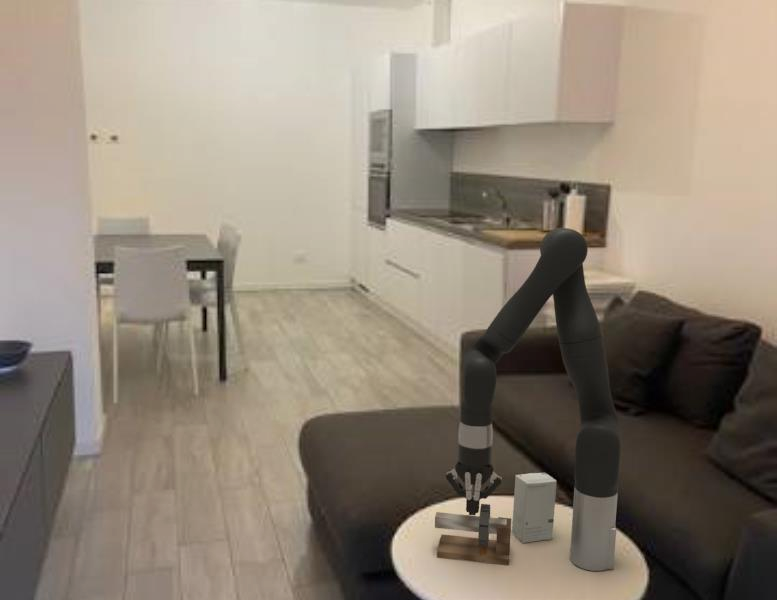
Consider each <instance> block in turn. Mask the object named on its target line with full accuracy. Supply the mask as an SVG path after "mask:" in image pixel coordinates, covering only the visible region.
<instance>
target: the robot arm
mask: <svg viewBox="0 0 777 600" xmlns="http://www.w3.org/2000/svg"><path fill="white" fill-rule="evenodd" d="M588 249H589V248H588V243H587V241H586V237H584V235H582V234H581V233H580V232H578V231H577V230H575V229H572V228H567V227H557V228H553V229H550V231H548V232H547V233H546V234H545V235H544V236H543V238H542V240H541V243H540V248H539V252H540V257H539V259H538V261H537V262H536V264H535V266H534V268H533V269H532V270H531V273H530V274H529V275H528V277H527V278H526V280H525V281H524V283H522V285H521V286H520V287H519V288H518V290H516V292H515V293H514V294H513V295H512V296H511V297H510V298H509V299H508V301H506V303H505V304H504V305H503V307H502V308H501V309H500V310H499V312H498V313H497V314H496V316H495V317H494V319H493V320H492V321H491V323H490V325H489V326H488V327H487V329H486V330H485V332H484V333H483V334H482V335H481V336H480V337H478V338H477V340H476V341H475V342H474V343H472V345H471V346H470V347H469V348H468V350H466V352H465V354H464V355H463V357H462V358H461V362H460V371H461V373H462V375H463V383H464V384H463V397H462V398H461V402H460V415H459V417H460V419H459V425H458V436H457V441H458V442H457V462H456V463H455V466H454V468H452V469H451V470H449V469H448V470H447V472H446V473H445V479H446V480H447V481H448V483H449V484H450V486H451V487H452V488H453V490H454V491H455V492H456V494H457V495H458V496H459V497H464V498H465V499H466V503H465V505H466V507H465V510H466V513H468V515H471V516H477V515H476V514H479V513H480V500H482V499H483V500H485V499H487V498H488V497H489V496H490V495H491V494H492V493H493V492H494V491H495V490H496V489H497V488H498V487H499V486H500V485H501V483H502V480H503V477H502V475H501V474H497V473H496V472H495V471H494V466H493V465H492V459H493V441H494V440H493V438H494V437H493V435H494V434H493V433H494V432H493V431H494V429H493V411H494V410H493V408H494V407H493V406H494V405H493V401H494V396H495V393H496V392H495V391H496V387H497V368H496V364H497V363H498V361H499V360H500V359H502V357H503V355H504V354H509V353H510V352H511V351H512V350H513V349H514V348H515V347H516V345H517V344H518V343H519V341H520V340H521V339H522V337H523V336H524V334H525V333H526V332H527V330H528V329H529V328H530V325H531V324H532V323H533V321H534V320H535V319H536V317H537V316H538V314H539V313H540V312H541V310H542V309H543V307H544V306H545V305H546V303H547V302H548V301H549V299H550V298H551V297H553V298H552V299H553V307H554V316H555V318H554V319H555V325H556V330H557V331H556V332H557V337H558V343H559V349H560V353H561V358H562V362H563V365H564V368H565V370H566V374H567V375H568V378H569V380H570V382H571V384H572V386H573V389H574V391H575V394H576V397H577V398H576V399H577V404H578V408H579V410H578V411H579V420H580V421H579V422H580V426H579V427H580V429H579V431H578V432H577V435H576V441H575V452H574V453H575V454H574V471H573V472H574V488H573V490H574V491H573V505H572V518H571V519H572V520H571V522H572V523H571V535H570V548H569V553H570V554H569V560H570V561H571V563H572V564H574V565H575V566H577V567H579V568H581V569H584V570H587V571H593V572H600V571H601V572H603V571H606V570H614V567H615V566H614V565H615V564H614V563H615V551H616V538H617V526H616V518H617V507H618V495H619V471H620V460H621V448H622V444H623V438H624V436H623V429H622V426H621V424H620V420H619V417H618V414H617V411H616V408H615V404H614V401H613V397H612V394H611V387H610V378H609V377H610V376H609V368H608V362H607V354H606V347H605V341H604V338H603V337H604V336H603V333H602V329H601V325H600V322H599V319H598V316H597V314H596V311H595V307H594V305H593V302H592V301H591V298H590V295H589V293H588V290H587V289H588V288H587V286H586V280H585V272H584V265H583V264H584V262H585V261H586V259H587V255H588ZM458 477H459V478H460V479H461V481H462V482H463V483H464V485H465V487H464V486H463V485H462V483H461V482H460V480H459V479H458ZM489 479H490V483H488V484H487V486H486V487H484V488H483V490H482V489H481V487H482V486H483V485H484V484H485V483H486V482H487V481H488V480H489ZM473 486H474V494H473Z"/></svg>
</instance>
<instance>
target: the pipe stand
mask: <svg viewBox="0 0 777 600" xmlns="http://www.w3.org/2000/svg"><path fill="white" fill-rule="evenodd" d="M479 519H480V515H469V514H459V513H450V512H441V511H436V512H435V517H434V529H443V530H454V531H462V532H469V533H471V532H472V533H479ZM511 532H512V518H509V517H500V516H498V517H491V516H490V517H489V526H488V533H489V535H490V534H491V535H496V539H489V540H488V546H480V545H479V543H478V537H471V536H470V537H469V536H461V535H460V536H459V535H451V534H443V533H442V534H440V538H439V542H438V547H437V549H436V558H438V559H439V558H440V559H448V560H449V559H450V560H457V561H458V560H459V561H467V562H473V563H475V562H476V563H482V564H483V563H484V564H485V563H486V564H493V565H503V566H509V565H510V557H511V556H510V554H511V553H510V552H511V536H512V535H511V534H512V533H511Z"/></svg>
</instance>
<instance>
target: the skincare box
mask: <svg viewBox="0 0 777 600" xmlns="http://www.w3.org/2000/svg"><path fill="white" fill-rule="evenodd" d="M514 477H515V478H514V479H515V481H514V495H513V508H512V509H513V510H512V521H511V532H512V533H511V534H513V535H514V536H515V537H516V538H517V539H518V540H519V541H520V542H521V543H522V544H526V543H531V542H538V541H546V540H548V541H549V540H552V539H553V532H554V522H555V521H554V520H555V519H554V518H555V507H556V493H557V479H555V478H553V476H551V475H549V474H548V473H546V472H537V473H536V472H530V473H525V474H524V473H522V474H516V475H515V476H514Z"/></svg>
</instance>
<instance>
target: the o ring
mask: <svg viewBox="0 0 777 600" xmlns="http://www.w3.org/2000/svg"><path fill="white" fill-rule="evenodd" d="M479 516H480V519H479V532H478V536H477V538H478V543H479V545H480V546H488V540H489V538H490V534H489V533H488V526H489V517H490V518H491V504H489V503H488V504H487V503H481V504H480V508H479Z"/></svg>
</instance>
